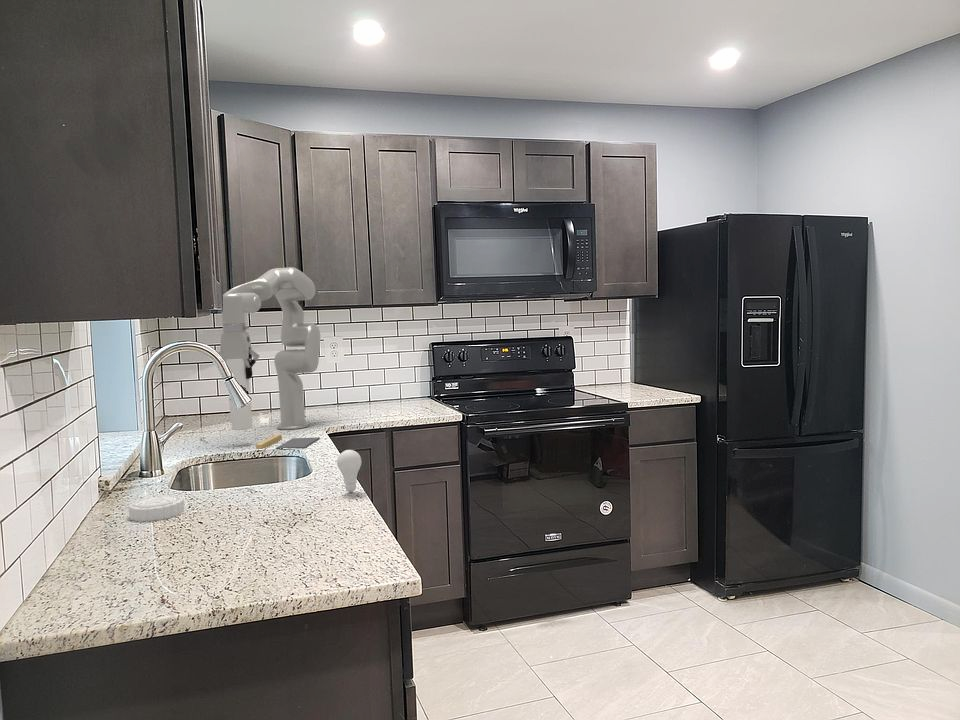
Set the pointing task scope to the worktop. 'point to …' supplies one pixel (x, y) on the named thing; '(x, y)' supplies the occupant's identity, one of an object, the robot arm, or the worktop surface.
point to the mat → (298, 443)
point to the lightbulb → (349, 468)
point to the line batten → (269, 441)
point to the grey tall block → (240, 416)
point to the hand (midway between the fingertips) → (238, 378)
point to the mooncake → (156, 508)
